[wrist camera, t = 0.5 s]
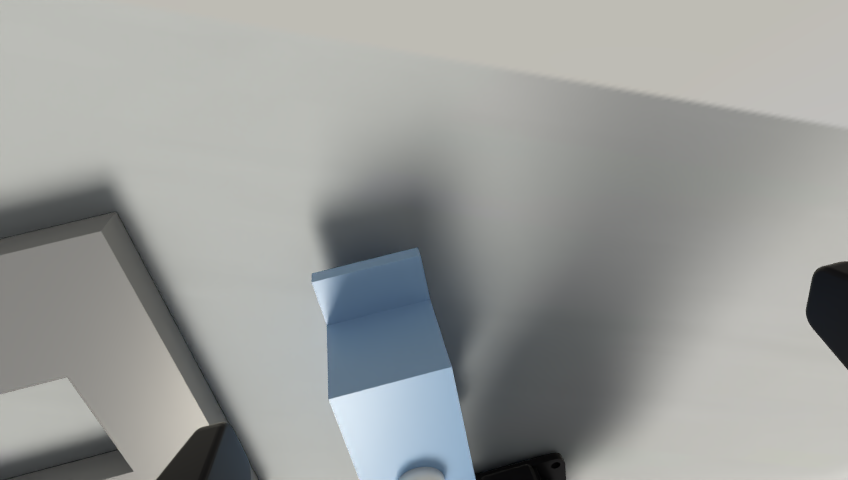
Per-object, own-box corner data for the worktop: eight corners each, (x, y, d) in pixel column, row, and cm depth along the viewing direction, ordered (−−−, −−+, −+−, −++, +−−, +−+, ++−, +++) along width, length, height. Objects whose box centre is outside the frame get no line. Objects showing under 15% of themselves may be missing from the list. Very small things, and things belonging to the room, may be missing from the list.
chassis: (265, 492, 27) (262, 520, 25) (-64, 583, 26) (-84, 617, 24) (115, 211, 19) (100, 231, 17) (-368, 326, 18) (-422, 356, 16)
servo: (411, 227, 21) (445, 330, 16) (453, 417, 27) (490, 545, 21) (312, 252, 21) (309, 365, 15) (375, 439, 26) (391, 574, 21)
